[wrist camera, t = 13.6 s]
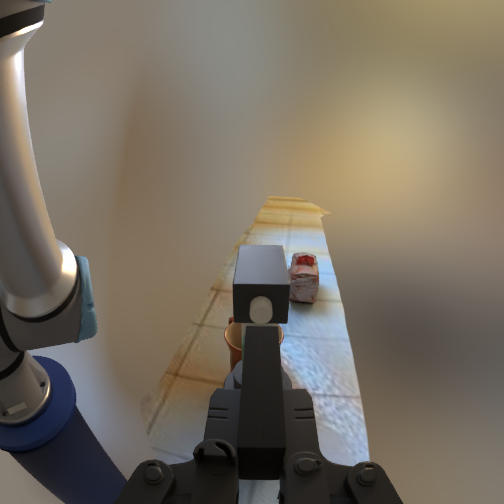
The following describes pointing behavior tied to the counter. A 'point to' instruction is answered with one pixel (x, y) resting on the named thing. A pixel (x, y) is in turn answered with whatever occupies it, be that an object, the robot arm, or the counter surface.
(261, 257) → the spray bottle
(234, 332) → the mug
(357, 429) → the counter surface
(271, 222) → the counter surface
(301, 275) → the food item
